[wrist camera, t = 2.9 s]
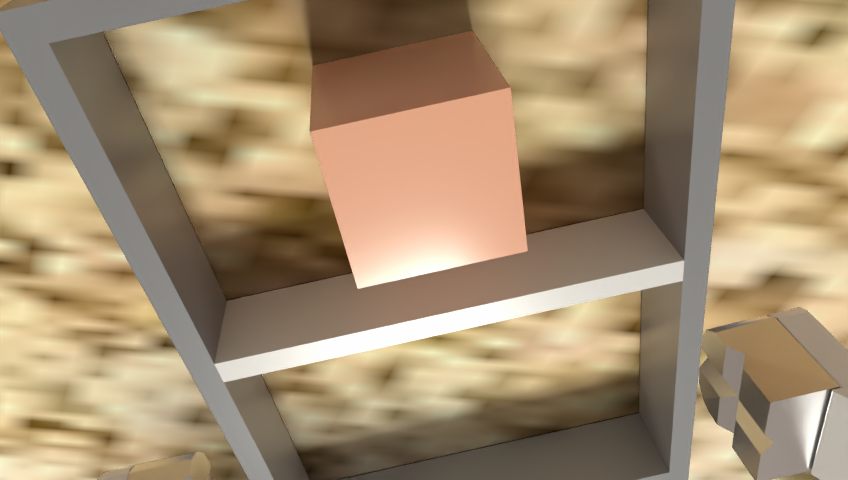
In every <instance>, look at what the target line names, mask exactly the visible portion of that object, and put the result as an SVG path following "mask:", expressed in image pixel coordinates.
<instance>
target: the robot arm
mask: <svg viewBox="0 0 848 480" xmlns="http://www.w3.org/2000/svg"><path fill="white" fill-rule="evenodd" d="M701 348H702V350H703V351H704V352H705V354H706V355H707V357H708V358H707V359H706V360H705V362H704V363H703V364H702V365H701V367H700V368H699V385H700V389H701V393H702V397H703V400H704V402H705V404H706V406H707V409H708V411H709V412H710V414H711V416H712V417H713V419H714V420H715V422H716V423H717V424H718V425H719V426H721V427H723V428H725V429H727V430H729V431H731V432H733V433H734V437H733V445H732V447H733V449H734V450H735V452H736V453H737V455H738V456H739V458H740V459H741V461H742V462H743V464H744V465H745V467H746V468H747V470H748V471H749V473H750V474H751V476H752V477H753V479H754V480H770V479H775V478H780V477H785V476H789V475H794V474H799V473H803V472H808V471H811V474H812V475H813V476H815V477H817V478H818V479H820V480H848V350H847V349H846V348H845V347H844V346H843V345H842V344H841V343H840V342H839V341H838V340H837V339H836V338H835V337H834V336H833V335H832V334H831V333H830V332H829V331H828V330H827V329H826V328H825V327H824V326H823V325H822V324H821V323H820V322H819V321H818V320H816V319H815V318H814V317H813V316H812V315H811V314H810V313H809V312H808V311H807V310H805V309H803V308H800V307H798V308H794V309H790V310H786V311H781V312H777V313H773V314H769V315H767V316H760V317H756V318H752V319H748V320H744V321H740V322H736V323H732V324H728V325H724V326H720V327H716V328H712V329H708V330H706V331H705V333H704V335H703V336H702V345H701ZM210 469H211V463H210V462H209V460H208V459H207V457H206V456H205V454H204V453H203V452H194V453H189V454H184V455H180V456H175V457H170V458H165V459H161V460H156V461H151V462H147V463H142V464H137V465H134V466H130V467H125V468H120V469H116V470H111V471H107V472H103V474H102V475H101V476H100V477H99V478H98V480H216V479H214V478H212V477H209V476H210Z"/></svg>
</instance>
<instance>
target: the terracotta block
mask: <svg viewBox="0 0 848 480" xmlns="http://www.w3.org/2000/svg"><path fill="white" fill-rule="evenodd" d="M310 135H311V138H312V141H313V144H314V148H315V151H316V154H317V157H318V161H319V164H320V167H321V171H322V174H323V177H324V180H325V184H326V187H327V190H328V193H329V197H330V200H331V203H332V207H333V210H334V213H335V216H336V220H337V223H338V226H339V229H340V233H341V236H342V239H343V243H344V246H345V249H346V252H347V256H348V259H349V262H350V265H351V269H352V272H353V275H354V279H355V282H356V285H357V288H358V289H359V288H364V287H369V286H373V285H378V284H382V283H387V282H391V281H396V280H400V279H405V278H409V277H414V276H418V275H423V274H427V273H432V272H436V271H441V270H445V269H450V268H454V267H459V266H463V265H468V264H472V263H477V262H481V261H486V260H490V259H495V258H499V257H504V256H508V255H513V254H517V253H522V252H526V251H528V248H527V239H526V229H525V220H524V210H523V201H522V192H521V182H520V173H519V163H518V154H517V144H516V135H515V125H514V116H513V106H512V97H511V88H510V86H509V85H508V83H507V82H506V80H505V79H504V77H503V76H502V74H501V73H500V71H499V70H498V68H497V67H496V65H495V64H494V62H493V61H492V59H491V58H490V56H489V55H488V53H487V52H486V50H485V49H484V47H483V46H482V44H481V43H480V41H479V40H478V38H477V37H476V35H475V34H474V32H473V31H468V32H464V33H459V34H455V35H450V36H445V37H441V38H436V39H432V40H427V41H423V42H418V43H414V44H409V45H404V46H400V47H395V48H391V49H386V50H382V51H377V52H372V53H368V54H363V55H359V56H354V57H350V58H345V59H341V60H336V61H331V62H327V63H322V64H318V65H313V71H312V93H311V114H310Z"/></svg>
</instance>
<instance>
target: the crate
mask: <svg viewBox="0 0 848 480" xmlns="http://www.w3.org/2000/svg"><path fill="white" fill-rule="evenodd" d="M241 1H246V0H12V1H10V2H9V3H7V4H6V5H4V6H2V7H1V8H0V31H1V33H2V35H3V37H4V38H5V40H6V42H7V44H8V46H9V47H10V49H11V51H12V53H13V55H14V56H15V58H16V60H17V62H18V64H19V66H20V67H21V69H22V71H23V73H24V75H25V76H26V78H27V80H28V82H29V84H30V85H31V87H32V89H33V91H34V93H35V94H36V96H37V98H38V100H39V102H40V103H41V105H42V107H43V109H44V111H45V112H46V114H47V116H48V118H49V120H50V121H51V123H52V125H53V127H54V129H55V131H56V132H57V134H58V136H59V138H60V140H61V141H62V143H63V145H64V147H65V149H66V150H67V152H68V154H69V156H70V158H71V159H72V161H73V163H74V165H75V167H76V168H77V170H78V172H79V174H80V176H81V177H82V179H83V181H84V183H85V185H86V186H87V188H88V190H89V192H90V194H91V196H92V197H93V199H94V201H95V203H96V205H97V206H98V208H99V210H100V212H101V214H102V215H103V217H104V219H105V221H106V223H107V224H108V226H109V228H110V230H111V232H112V233H113V235H114V237H115V239H116V241H117V242H118V244H119V246H120V248H121V250H122V252H123V253H124V255H125V257H126V259H127V261H128V262H129V264H130V266H131V268H132V270H133V271H134V273H135V275H136V277H137V279H138V280H139V282H140V284H141V286H142V288H143V289H144V291H145V293H146V295H147V297H148V298H149V300H150V302H151V304H152V306H153V307H154V309H155V311H156V313H157V315H158V317H159V318H160V320H161V322H162V324H163V326H164V327H165V329H166V331H167V333H168V335H169V336H170V338H171V340H172V342H173V344H174V345H175V347H176V349H177V351H178V353H179V354H180V356H181V358H182V360H183V362H184V363H185V365H186V367H187V369H188V371H189V372H190V374H191V376H192V378H193V380H194V382H195V383H196V385H197V387H198V389H199V391H200V392H201V394H202V396H203V398H204V400H205V401H206V403H207V405H208V407H209V409H210V410H211V412H212V414H213V416H214V418H215V419H216V421H217V423H218V425H219V427H220V428H221V430H222V432H223V434H224V436H225V438H226V439H227V441H228V443H229V445H230V447H231V448H232V450H233V452H234V454H235V456H236V457H237V459H238V461H239V463H240V465H241V466H242V468H243V470H244V472H245V474H246V475H247V477H248V479H249V480H310V479H309V477H308V475H307V473H306V470H305V468H304V466H303V464H302V462H301V460H300V458H299V455H298V453H297V451H296V449H295V447H294V445H293V442H292V440H291V438H290V436H289V434H288V432H287V429H286V427H285V425H284V423H283V421H282V419H281V417H280V414H279V412H278V410H277V408H276V406H275V404H274V401H273V399H272V397H271V395H270V393H269V391H268V388H267V386H266V384H265V382H264V380H263V378H262V375H261V374H264V373H269V372H273V371H278V370H282V369H287V368H291V367H296V366H300V365H305V364H309V363H314V362H318V361H323V360H327V359H332V358H336V357H341V356H345V355H350V354H354V353H359V352H363V351H368V350H373V349H377V348H382V347H386V346H391V345H395V344H400V343H404V342H409V341H413V340H418V339H422V338H427V337H431V336H436V335H440V334H445V333H449V332H454V331H458V330H463V329H467V328H472V327H476V326H481V325H486V324H490V323H495V322H499V321H504V320H508V319H513V318H517V317H522V316H526V315H531V314H535V313H540V312H544V311H549V310H553V309H558V308H562V307H567V306H571V305H576V304H580V303H585V302H589V301H594V300H599V299H603V298H608V297H612V296H617V295H621V294H626V293H630V292H635V291H639V290H642V299H641V342H640V386H639V413H638V414H633V415H629V416H624V417H620V418H615V419H611V420H606V421H602V422H597V423H593V424H588V425H584V426H579V427H575V428H570V429H566V430H561V431H557V432H552V433H548V434H543V435H539V436H534V437H530V438H525V439H521V440H516V441H512V442H507V443H503V444H498V445H494V446H489V447H485V448H480V449H476V450H471V451H467V452H462V453H458V454H453V455H449V456H444V457H440V458H435V459H431V460H426V461H422V462H417V463H413V464H408V465H404V466H399V467H395V468H390V469H386V470H381V471H377V472H372V473H368V474H363V475H359V476H354V477H350V478H345V479H341V480H688V476H689V465H690V455H691V445H692V435H693V425H694V415H695V405H696V394H697V384H698V374H699V364H700V354H701V344H702V334H703V323H704V313H705V303H706V293H707V283H708V273H709V263H710V252H711V242H712V232H713V222H714V212H715V202H716V192H717V181H718V171H719V161H720V151H721V141H722V131H723V121H724V110H725V100H726V90H727V80H728V70H729V60H730V50H731V39H732V29H733V19H734V9H735V0H648V40H647V83H646V127H645V170H644V209H641V210H636V211H632V212H627V213H623V214H618V215H614V216H609V217H604V218H600V219H595V220H591V221H586V222H582V223H577V224H573V225H568V226H564V227H559V228H555V229H550V230H545V231H541V232H536V233H532V234H527V235H526V239H527V248H528V251H526V252H522V253H517V254H513V255H508V256H504V257H499V258H495V259H490V260H486V261H481V262H477V263H472V264H468V265H463V266H459V267H454V268H450V269H445V270H441V271H436V272H432V273H427V274H423V275H418V276H414V277H409V278H405V279H400V280H396V281H391V282H387V283H382V284H378V285H373V286H369V287H364V288H359V289H358V288H357V285H356V282H355V279H354V275H353V273H351V274H346V275H341V276H337V277H332V278H328V279H323V280H319V281H314V282H310V283H305V284H301V285H296V286H292V287H287V288H283V289H278V290H273V291H269V292H264V293H260V294H255V295H251V296H246V297H242V298H237V299H233V300H228V301H227V300H226V298H225V296H224V293H223V291H222V289H221V287H220V285H219V283H218V281H217V278H216V276H215V274H214V272H213V270H212V268H211V265H210V263H209V261H208V259H207V257H206V255H205V252H204V250H203V248H202V246H201V244H200V242H199V240H198V237H197V235H196V233H195V231H194V229H193V227H192V224H191V222H190V220H189V218H188V216H187V214H186V211H185V209H184V207H183V205H182V203H181V201H180V198H179V196H178V194H177V192H176V190H175V188H174V186H173V183H172V181H171V179H170V177H169V175H168V173H167V170H166V168H165V166H164V164H163V162H162V160H161V157H160V155H159V153H158V151H157V149H156V147H155V145H154V142H153V140H152V138H151V136H150V134H149V132H148V129H147V127H146V125H145V123H144V121H143V119H142V116H141V114H140V112H139V110H138V108H137V106H136V104H135V101H134V99H133V97H132V95H131V93H130V91H129V88H128V86H127V84H126V82H125V80H124V78H123V75H122V73H121V71H120V69H119V67H118V65H117V63H116V60H115V58H114V56H113V54H112V52H111V50H110V47H109V45H108V43H107V41H106V39H105V37H104V34H103V32H104V31H108V30H113V29H117V28H122V27H126V26H131V25H136V24H140V23H145V22H149V21H154V20H159V19H163V18H168V17H172V16H177V15H181V14H186V13H191V12H195V11H200V10H204V9H209V8H214V7H218V6H223V5H227V4H232V3H237V2H241Z"/></svg>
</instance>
